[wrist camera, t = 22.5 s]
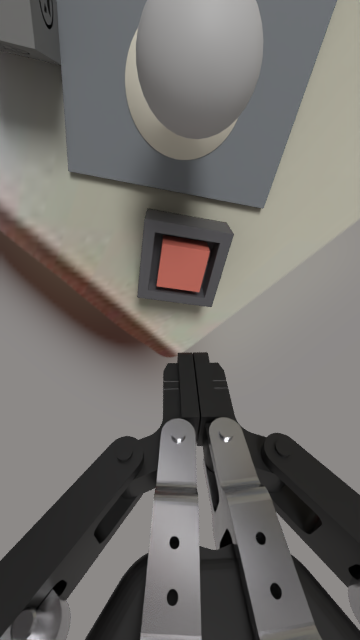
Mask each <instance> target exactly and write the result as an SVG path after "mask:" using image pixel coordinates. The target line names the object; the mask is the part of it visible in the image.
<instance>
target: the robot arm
mask: <svg viewBox="0 0 360 640" xmlns="http://www.w3.org/2000/svg"><path fill="white" fill-rule="evenodd" d="M163 375H164V376H163V380H164V381H163V421H162V424H161V426H160V428H159V429H158V430H157V431H156V432H155V433H154V434H152V435H150V436H148V437H145V438H142V439H140V440H137V439H136V438H133V437H130V436H125V437H121V438H118V439H117V440H115V441H114V442H113V443H112V444H111V445H110V446H109V447H108V448H107V449H106V450H105V451H104V452H103V453H102V454H101V456H100V457H98V458H97V460H96V461H95V462H94V463H93V464H92V465H91V466H90V467H89V468H88V469H87V470H86V471H85V472H84V473H83V474H82V475H81V476H80V478H78V480H77V481H76V482H75V483H74V484H73V485H72V486H71V487H70V488H69V489H68V490H67V491H66V492H65V493H64V494H63V495H62V496H61V498H60V499H59V500H58V501H57V502H56V503H55V504H54V505H53V506H52V507H51V508H50V509H49V510H48V511H47V512H46V513H45V514H44V515H43V517H42V518H41V519H40V520H39V521H38V522H37V523H36V524H35V525H34V526H33V527H32V528H31V529H30V530H29V531H28V532H27V533H26V534H25V536H24V537H23V538H22V539H21V540H20V541H19V542H18V543H17V544H16V545H15V546H14V547H13V548H12V549H11V550H10V551H9V552H8V553H7V554H6V556H5V557H4V558H3V559H2V560H1V561H0V640H66V638H67V635H68V631H69V627H70V618H71V616H70V608H69V605H68V603H67V601H66V600H67V598H68V597H69V595H70V594H71V593H72V591H73V590H74V589H75V587H76V586H77V584H78V583H79V582H80V580H81V579H82V578H83V576H84V575H85V573H86V572H87V571H88V569H89V568H90V567H91V565H92V564H93V562H94V561H95V560H96V558H97V557H98V555H99V554H100V553H101V551H102V550H103V549H104V547H105V546H106V544H107V543H108V542H109V540H110V539H111V538H112V536H113V535H114V534H115V532H116V531H117V529H118V528H119V527H120V525H121V524H122V522H123V521H124V519H125V518H126V517H127V516H128V514H129V513H130V511H131V510H132V509H133V507H134V506H135V504H136V503H137V502H138V500H139V499H140V498H141V496H142V495H143V493H145V492H147V491H149V490H152V489H154V488H156V489H155V494H154V503H153V513H152V524H151V534H150V545H149V553H147V554H145V555H144V556H142V557H141V558H140V559H138V560H137V561H136V562H135V563H134V564H133V565H132V566H131V567H130V568H129V569H128V571H127V572H126V573H125V574H124V576H123V577H122V579H121V581H120V582H119V584H118V585H117V587H116V589H115V590H114V592H113V594H112V595H111V597H110V599H109V600H108V602H107V604H106V605H105V607H104V609H103V610H102V612H101V614H100V615H99V617H98V619H97V620H96V622H95V624H94V625H93V627H92V629H91V630H90V632H89V634H88V635H87V637H86V639H85V640H360V631H359V629H358V628H357V627H356V626H355V625H354V624H353V622H352V621H351V620H350V619H349V618H348V616H347V615H346V614H345V613H344V612H343V611H342V609H341V608H340V607H339V606H338V605H337V604H336V602H335V601H334V600H333V599H332V598H331V597H330V595H329V594H328V593H327V592H326V591H325V589H324V588H323V587H322V586H321V585H320V584H319V582H318V581H317V580H316V579H315V578H314V577H313V575H312V574H311V573H310V572H309V571H308V570H307V569H306V567H305V566H303V564H302V563H301V562H299V561H298V560H297V559H296V558H295V557H294V556H292V555H291V554H290V551H289V548H288V546H287V543H286V540H285V537H284V534H283V532H282V528H281V525H280V522H279V520H278V517H277V514H276V512H277V513H278V514H279V515H280V516H281V517H282V518H283V519H284V521H285V522H286V523H287V524H288V525H289V526H290V527H291V528H292V529H293V530H294V531H295V532H296V533H297V534H298V535H299V536H300V537H301V539H302V540H303V541H304V542H305V543H306V544H307V545H308V546H309V547H310V548H311V549H312V550H313V551H314V552H315V553H316V554H317V555H318V556H319V558H321V560H322V561H323V562H324V563H325V564H326V565H327V566H328V567H329V568H330V569H331V570H332V571H333V572H334V573H335V574H336V575H337V577H338V578H339V579H340V580H341V581H342V582H343V583H344V584H345V585H346V586H347V587H348V597H349V602H350V605H351V608H352V611H353V613H354V615H355V617H356V618H357V620H358V622H359V623H360V495H359V494H358V493H357V492H355V491H354V490H353V489H351V487H349V486H348V485H347V484H346V483H344V482H343V481H342V480H341V479H340V478H338V477H337V476H336V475H335V474H333V473H332V472H331V471H330V470H329V469H328V468H326V467H325V466H324V465H323V464H321V463H320V462H319V461H318V460H317V459H315V458H314V457H313V456H312V455H311V454H309V453H308V452H307V451H306V450H305V449H303V448H302V447H301V446H300V445H299V444H297V443H296V442H295V441H294V440H292V439H291V438H290V437H288V436H286V435H284V434H281V433H273V434H270V435H269V436H268V437H264V436H260V435H256V434H254V433H251V432H248V431H246V430H245V429H244V428H242V427H241V426H240V425H239V424H238V422H237V420H236V418H235V415H234V411H233V407H232V403H231V399H230V394H229V390H228V386H227V382H226V377H225V373H224V370H223V369H222V367H221V366H220V365H219V363H209V357H208V353H206V352H205V353H193V354H192V353H178V361H177V363H168V364H167V366H166V368H165V370H164V374H163ZM196 441H197V446H203V452H204V459H203V466H204V471H205V477H206V483H207V488H208V493H209V499H210V505H211V510H212V522H213V534H214V540H215V546H216V550H211V549H208V548H204V547H201V546H199V517H198V515H199V513H198V493H197V485H196Z"/></svg>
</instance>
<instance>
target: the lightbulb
mask: <svg viewBox="0 0 360 640" xmlns="http://www.w3.org/2000/svg"><path fill="white" fill-rule="evenodd" d="M262 58H263V29H262V21H261V17H260V12H259V8H258V4H257V2H256V0H147V2H146V4H145V6H144V8H143V11H142V15H141V18H140V22H139V25H138V31H137V39H136V66H137V72H138V79H139V83H140V86H141V89H142V92H143V95H144V98H145V100H146V102H147V104H148V106H149V108H150V110H151V111H152V112H153V114H154V115H155V117H156V118H157V119H158V120H159V121H160V122H161V123H162V124H163V125H164V126H165V127H166V128H167V129H169V130H170V131H172V132H173V133H175V134H176V135H179V136H182V137H185V138H190V139H202V138H209V137H211V136H214V135H216V134H219V133H220V132H222V131H223V130H225V129H226V128H228V127H229V126H230V125H231V124H232V123H233V122H234V121H235V120H236V119H237V118H238V117H239V116H240V114H241V113H242V111H243V110H244V109H245V107H246V106H247V104H248V102H249V100H250V98H251V96H252V94H253V92H254V89H255V86H256V83H257V81H258V78H259V74H260V69H261V64H262Z"/></svg>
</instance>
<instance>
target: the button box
mask: <svg viewBox="0 0 360 640" xmlns="http://www.w3.org/2000/svg"><path fill="white" fill-rule="evenodd" d="M163 235H167V236H173V237H179V238H185V239H191V240H197V241H203V242H207V244H208V247H209V250H210V253H209V257H208V261H207V265H206V269H205V273H204V276H203V280H202V284H201V288H200V292H194V291H187V290H180V289H172V288H165V287H158V286H157V274H158V267H159V260H160V253H161V246H162V238H163ZM233 235H234V234H233V232H232V230H231V229H230V227H229V226H228V224H227V223H226V222H220V221H214V220H209V219H203V218H198V217H192V216H187V215H181V214H175V213H170V212H164V211H159V210H153V209H148V208H147V212H146V216H145V221H144V231H143V242H142V253H141V263H140V274H139V284H138V295H137V297H138V298H146V299H154V300H161V301H169V302H176V303H184V304H192V305H199V306H207V307H212V304H213V301H214V297H215V294H216V291H217V288H218V284H219V281H220V278H221V275H222V271H223V268H224V265H225V261H226V258H227V255H228V252H229V248H230V245H231V242H232V239H233Z"/></svg>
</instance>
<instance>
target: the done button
mask: <svg viewBox="0 0 360 640" xmlns="http://www.w3.org/2000/svg"><path fill="white" fill-rule="evenodd" d="M209 253H210V250H209V247H208V244H207V242H203V241H197V240H191V239H185V238H179V237H173V236H167V235H163V238H162V246H161V253H160V260H159V267H158V274H157V286H158V287H165V288H172V289H180V290H187V291H194V292H200V288H201V284H202V280H203V276H204V273H205V269H206V265H207V261H208V257H209Z"/></svg>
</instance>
